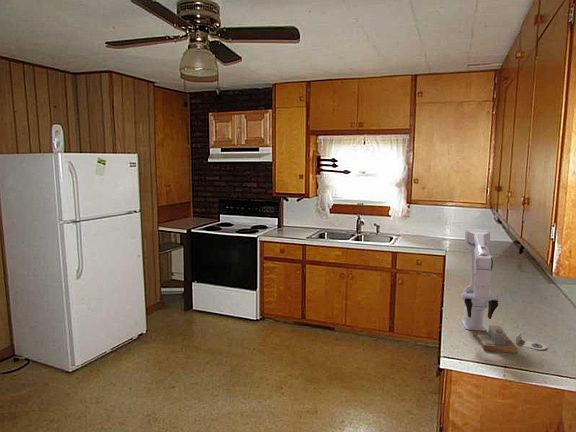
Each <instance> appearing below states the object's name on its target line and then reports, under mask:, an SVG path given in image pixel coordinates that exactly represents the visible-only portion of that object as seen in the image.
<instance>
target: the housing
mask: <svg viewBox="0 0 576 432" xmlns="http://www.w3.org/2000/svg"><path fill="white" fill-rule="evenodd" d="M487 335H488V336H489V337H490V339H491V340H492V342H493V343H494V344H497V345H506V336H507V333H506V332H505V331H504V329H503V328H502V327H501V326H500V325H492V324H489V325H488V334H487Z"/></svg>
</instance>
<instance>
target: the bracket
mask: <svg viewBox="0 0 576 432" xmlns="http://www.w3.org/2000/svg"><path fill="white" fill-rule="evenodd" d="M515 339H516V341H515V342H516V343H515V345H518V344H519V343H520V342H521V340H522V332H521V331H520V332H519V333H518V334H517V336H516V337H515ZM522 347H525V348H528V349H532V350H536V351H543V350H547V346H546V345H545V344H542V343H540V342H534V341H530V340H526V341H525V342H524V343H523V345H522Z"/></svg>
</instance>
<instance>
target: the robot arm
mask: <svg viewBox="0 0 576 432" xmlns="http://www.w3.org/2000/svg"><path fill="white" fill-rule="evenodd" d="M490 239H491V231H490V230H489V229H475V228H473V229H471V228H467V229H466V230H465V234H464V241H465V243H464V244H465V248H466V249H467V250H469V253H470V254H469V255H470V284H469V285H468V286H466V287H465V288H464V289H463V293H461V295H460V296H461V297H460V298H461V300H462V304H463V306H464V308H463V309H464V311H463V319H462V320H461V321H460V322H461V323H462V325H463V326H464V328H465V329H466V330H472V331H483V332H485V331H486V328H485V327H484V316H485V315H484V314H485V313H484V312H485V310H486V309H487V308H488V309H487V318H488V319H489V320H492V317H493V315H494V312H495V310H496V309H498V307H499V303H501V302H502V301H501V300H502V297H501V296H499V295H494V294H490V285H491V275H492V271H493V270H494V264H495V263H494V258H493V256H492V255H491V254H490V250H489V246H490V245H489V244H490V241H491V240H490Z"/></svg>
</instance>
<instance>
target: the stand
mask: <svg viewBox="0 0 576 432" xmlns="http://www.w3.org/2000/svg"><path fill="white" fill-rule="evenodd" d="M476 340H477V342H478V344H479V346H481V348H482V350H483V351H485V352H486V351H487V352H499V353H500V352H501V353H509V354H511V353H513V354H518V350H519V348H518V346H517V344H516V343H514V342H513V340H512V339H511V338H510V337H509V336H507V335H506V345H497V344H494V343H493V342H492V340H491V339H490V337H489V336H488V334H480V333H477V335H476Z"/></svg>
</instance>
